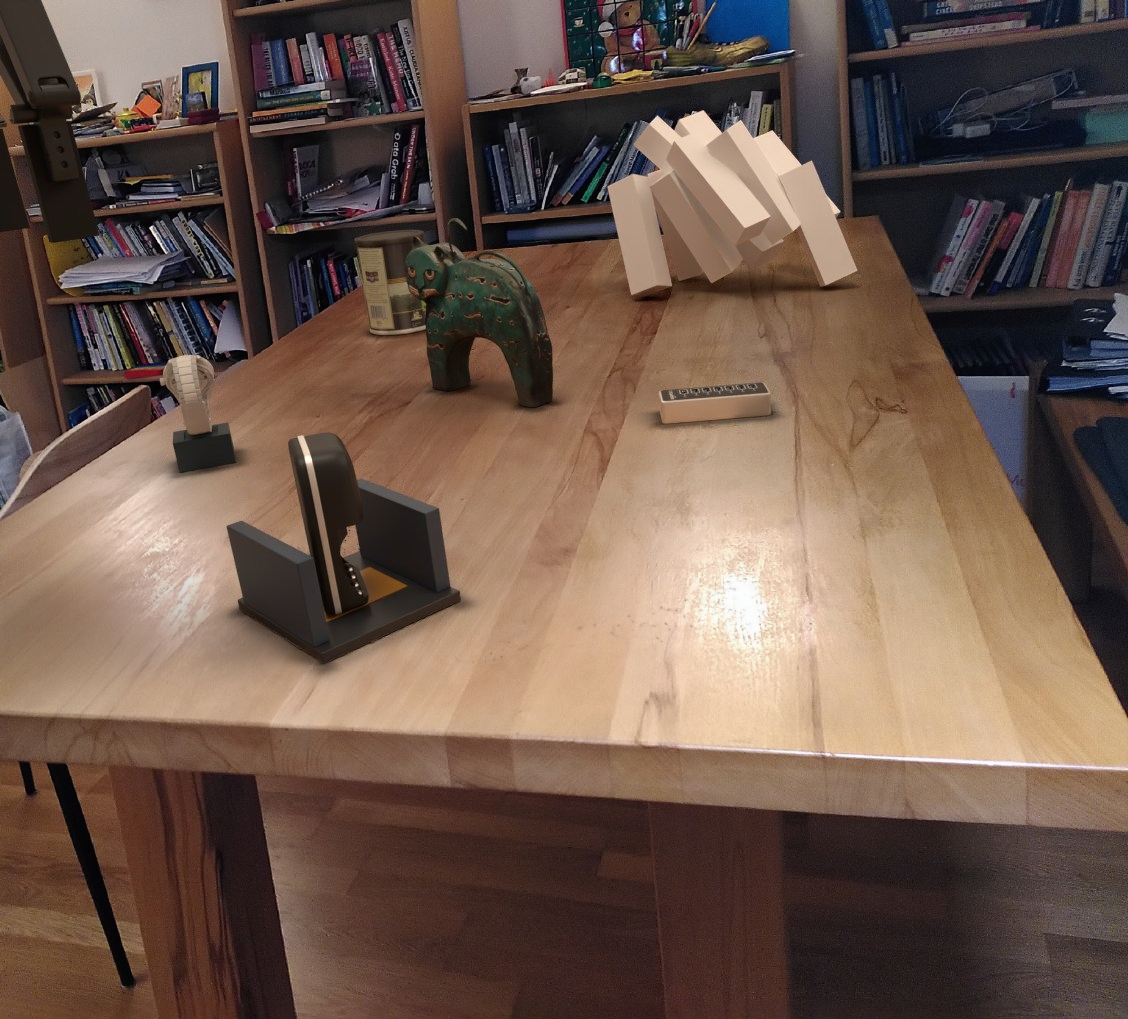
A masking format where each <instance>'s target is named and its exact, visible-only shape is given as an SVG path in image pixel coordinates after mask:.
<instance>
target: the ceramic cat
mask: <svg viewBox="0 0 1128 1019" xmlns="http://www.w3.org/2000/svg"><path fill="white" fill-rule="evenodd" d="M454 222H455V223H456V224H458V226H460V227H461V228H462V229H463V230H464V231H465V232H466V233H468V227H467V226H466V224H465V223H464V222H463V221H462V220H461V219H460V218H458V217H452V218H451V219H449V220H448V222H447V228H446V229H447V230H446V232H447V242H439V243H435V244H427V243H425V241H424V242H422V241H421V240H420V239H419V238H418V237H416V236H413V241H412V243H413V246H412V251H411V252H410V253H409V254H408V256H407V258H406V260H405V273H406V281H407V284H408V289H409V292H410V293H411V294H412V295H413V296H414V297H416V298H417V299H419V300H422V301H424V302H425V303H426V315H425V327H426V330H425V338H426V356H427V360H428V365H429V370H430V379H431V385H432V386H431V387H432V389H435V390H439V391H443V392H453V391H456V390H459V389H462V388H466V387H468V386H471V385H472V378H471V373H470V355H471V352H472V348H473V345H474V342H475V340H476V338H477V339H478V338H479V339H484V340H488V341H490V342H492V343H494V344H495V345H496V346H497V347H498V348H499V350H500V351H501V352H502V354H503V357H504V359H505V361H506V364H507V365H508V369H509V372H510V376H511V379H512V381H513V385H514V388H515V392H516V393H515V394H516V396H517V399H518V404H519V405H520V406H522V407H528V408H537V407H541V406H543V405H545V404H548V403H551V402H553V396H554V395H553V394H554V364H553V360H554V359H553V345H552V344H553V343H552V340H551V338H550V337H551V336H550V335H549V331H548V326H547V320H546V317H545V313H544V309H543V307H542V303H541V300H540V298H539V295H538V293H537V291H536V290H535V288H534V286H533V285H532V283H531V281H530V280H529V279H528V278H527V277H526V276H525V275H524V273H523V271H522V269H521V268H520V267H519V265H518V264H517V263H516V261H514V260H513V258H510V257H509V256H507V255H505V254H503V253H501V252H497V251H494V250H485V251H482V252H479V253H478V254H475V255H474V256H470V257H468V258H466V256H465V255H464V253H463V252H461V250H460V249H459V248H458V247H457V246H455V245H453V244H452V241H451V236H450V235H451V234H450V230H451V226H452V224H453V223H454ZM488 255H489V256H493V257H496V258H497V259H495V258H481V257H483V256H488ZM500 259H501V260H500Z"/></svg>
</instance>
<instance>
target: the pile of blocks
mask: <svg viewBox="0 0 1128 1019" xmlns="http://www.w3.org/2000/svg"><path fill="white" fill-rule="evenodd" d="M632 145H633V146H634V147H635V148H636V149H637V150H638V151H640V153H642V154H643V155H644V156H645V157H646V159H648V160H649V161H651V162H652V163H653V164H654V165H655V166H656V167H657V168H658V169H657V170H655V171H652V172H649V173H647V176H646V175H641V174H636V173H631V174H629V175H628V176H626V177H623V178H621V179H619V180H618V181H615V182H613V183H611V184H609V185H608V186H607V192H608V196H609V200H610V206H611V209H612V214H613V219H614V223H615V227H616V232H617V236H618V241H619V246H620V250H621V255H622V260H623V264H624V268H625V273H626V278H627V282H628V286H629V292H630V296H638V297H639V296H640V297H647V296H650V295H653V294H655V293H658V292H660V291H663V290H665V289H668V288H671V287H673V283H672V278H671V273H670V270H669V265H668V261H667V256H666V252H665V247H664V242H663V238H664V240H665V243H666V246H667V249H668V252H669V255H670V258H671V262H672V264H673V267H674V271H675V274H676V277H677V280H678V281H679V282H681V281H684V280H687V279H691V278H694V277H697V276H700V275H701V276H702V275H703V273H704V274H705V276H706V278H707V279H708V280H709V282H710V284H713V283H715V282H716V281H718V280H720V279H722V278H724V277H725V276H727V275H730V274H731V273H733V271H734V270H735V269H736V268H737V267H738V266H739V265H740V264H741V263H742V261H743V262H744V263H745V264H746V265H747V266H748V267H749V268H751V269H752V270H753V271H754V272H755V271H757V270H759V269H761V268H763V267H765V266H766V265H769V264H771V263H772V262H774V261H776V260H777V258H778V256H779V253H780V251H781V249H782V247H783V245H784V241H785V240H784V238H786V237H787V236H788V235H790V234H792V233H793V232H794V231H796V232H797V235H798V237H799V239H800V242H801V244H802V247H803V249H804V252H805V254H806V256H807V258H808V260H809V263H810V266H811V268H812V270H813V273H814V275H815V277H816V279H817V282H818V284H819V287H820V288H821V287H825V286H827V285H830V284H832V283H834V282H836V281H838V280H841V279H843V278H844V277H847V276H850V275H851V274H853V273H856V272H858V268H857V266H856V263H855V261H854V258H853V256H852V253H851V252H850V248H849V247H848V244H847V242H846V239H845V237H844V234H843V231H842V229H841V227H840V225H839V221H838V220H837V218H838V216H839V215H840V213H841V210H840V209H839V208H838V207H837V206H836V204H835V203H834V202H833V200H831V198H830V197H829V195H827V193H826V190H825V188H824V186H823V184H822V181H821V179H820V176H819V174H818V171H817V169H816V166H815V164H814V162H813V160H809V161H808V162H805V163H804V164H801V163H800V161H799V160H798V159H797V158H796V157H795V155H794V154H793V153H792V151H790V149H789V148H788V147H787V146H786V145H785V143H784V142H783V141H782V139H780V137H779V136H778V135H777V134H776V133H775V131H774V130H770V131H768V132H765V133H763V134H760V135H757V136H755V137H753V136H752V135H751V133H750V131H749V129H748V128H747V127H746V125H745V124H744V122H743V121H742V119H740V120H738V121H737V122H735V123H734V124H733V125H731V126H730V127H728V128H727V129H725V130H724V131H723V132H722V130H720V129H719V128H718V126H717V124H715V122H714V121H713V120H712V119H711V118H710V117H709V116H708V114H707V113H706V111H705V110H700V111H698V112H695V113H693V114H690V115H688V116H685V117H683V118H680V119H678V120H677V123H676V125H675V127H674V129H673V128H672V127H671V126H670V125H668V123H667V122H665V121H664V120H663V119H662V118H661V117H660V116H659V115H656V117H654V118H653V119H652V120H651V122H649V124H647V126H646V128H645V129H644V130H643V131H642V133H641V134H640V135H638V137H637V139H635V141H634V142H633V144H632ZM660 227H661V229H660ZM661 232H662V233H661ZM662 234H663V238H662Z"/></svg>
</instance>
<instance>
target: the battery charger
mask: <svg viewBox="0 0 1128 1019" xmlns="http://www.w3.org/2000/svg"><path fill="white" fill-rule="evenodd" d="M287 447H288V451H289V452H288V453H289V458H290V463H291V468H292V473H293V478H294V483H295V488H296V493H297V498H298V503H299V507H300V512H301V517H302V523H303V527H304V531H305V537H306V541H307V546H308V552H309V555H310V556H311V557H313V558H314V563H315V568H316V573H317V578H318V583H319V588H320V593H321V598H322V603H323V608H324V611H325V613H326V614H328V615H332V614H336V615H337V614H342V612H345V611H349V610H353V609H356V608H359V607H361V606H363V605H365V604H366V603H367V602H368V599H369V597H368V591H367V588H366V586H365V583H364V581H363V578H362V576H361V573H360V571H359V569H358V567H356V566H353V565H352V564H349V563H348V562H347V561H346V560H345V559H344V558H343V557H344V556H342V554H341V552H342V550H341V548H342V545H343V542H344V540H345V538H346V537H347V536H348V534H349V532H348V528H349V527H352V526H355V525H356V524H359V523H361V522H362V521H363V515H364V511H363V505H362V500H361V496H360V491H359V487H358V482H357V480H358V479H357V474H356V470H355V467H354V463H353V461H352V458H351V456H350V454H349V452H348V449H347V447H346V445H345V443H344V442H343V441H342V439H341V438H340V436H339V435H337V434H335V433H333V432H330V431H329V432H319V433H314V434H309V435H302V434H301V435H297V436H296V437H293V438H290V439H289V440H288V442H287Z"/></svg>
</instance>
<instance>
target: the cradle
mask: <svg viewBox="0 0 1128 1019" xmlns="http://www.w3.org/2000/svg"><path fill="white" fill-rule="evenodd" d="M357 482H358V487H359V491H360V496H361V500H362V505H363V511H364V515H363V521H362V522H361V523H359V524H356V525H354V526H355V531H356V536H357V542H358V548H359V551H355V552H353V553H351V554H348V555H345V556H342V557H343V558H344V559H345V560H346V561H347V562H348V563H349V564H352V565H353V566H356V567H358V569H359V571H360V573H361V576H362V578H363V581H364V583H365V586H366V588H367V591H368V597H369V599H368V602H367V603H366V604H365V605H363V606H361V607H359V608H356V609H353V610H349V611H345V612H342V614H337V615H336V614H332V615H328V614H326V613H325V611H324V608H323V603H322V598H321V593H320V588H319V583H318V578H317V573H316V568H315V563H314V558H313V557H311V556H310V554H307V553H305V552H304V551H302V550H300V549H298V548H296V547H294V546H292V545H290V544H288V543H286V542H284V541H283V540H280V539H278V538H276V537H274V536H272V535H271V534H269V533H268V532H265V531H264V530H261V529H260V528H257V527H256V526H253V525H252V524H250V523H248V522H245V521H244V520H239V521H236V522H233V523H230V524H227V525H226V526H225V527H226V531H227V535H228V536H227V537H228V540H229V544H230V548H231V552H232V553H231V554H232V557H233V562H234V565H235V570H236V574H237V579H238V583H239V587H240V588H239V589H240V591H241V595H242V597H240V598H238V599H236V600H237V606H238V610H240V611H241V612H244V613H245V614H246V615H248V616H249V617H251V618H253V619H254V620H256V621H257V622H259V624H261V625H263V626H265V627H267V628H268V629H269V630H271V631H272V632H274V633H275V634H277V635H279V636H280V637H282V638H283V639H285V640H287V641H288V642H290V643H291V644H292V645H294V646H296V647H297V648H299V649H300V650H302V651H304V652H305V653H306V654H308V655H309V656H311V657H313V658H314V659H315V660H317V661H318V662H320V663H321V664H326V663H329V662H331V661H333V660H335V659H337V658H340V657H342V656H344V655H346V654H348V653H350V652H352V651H355V650H357V649H359V648H361V647H363V646H365V645H367V644H370V643H372V642H374V641H376V640H379V639H380V638H383V637H385V636H387V635H390V634H392V633H394V632H396V631H398V630H400V629H402V628H405V627H407V626H409V625H411V624H413V623H415V622H418V621H420V620H422V619H424V618H426V617H429V616H430V615H432V614H434V613H437V612H439V611H441V610H444V609H445V608H448V607H450V606H452V605H454V604H456V603H459V602H461V593H460V590H458V589H456V588H455V587H452V586H451V580H450V574H449V567H448V561H447V554H446V547H445V540H444V532H443V525H442V518H441V513H440V508H439V507H436V506H434V505H432V504H429V503H426V502H424V501H421V500H419V499H416V498H413V497H411V496H408V495H406V494H403V493H401V492H398V491H395V490H392V489H390V488H387V487H385V486H382V485H379V484H377V483H374V482H371V481H369V480H366V479H364V478H358V479H357Z"/></svg>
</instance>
